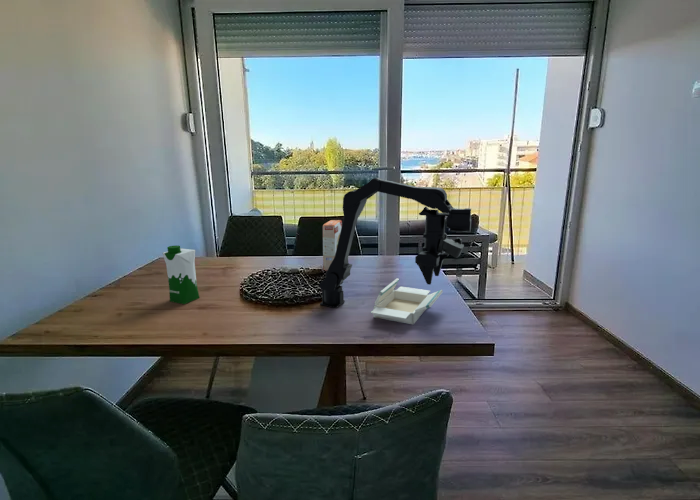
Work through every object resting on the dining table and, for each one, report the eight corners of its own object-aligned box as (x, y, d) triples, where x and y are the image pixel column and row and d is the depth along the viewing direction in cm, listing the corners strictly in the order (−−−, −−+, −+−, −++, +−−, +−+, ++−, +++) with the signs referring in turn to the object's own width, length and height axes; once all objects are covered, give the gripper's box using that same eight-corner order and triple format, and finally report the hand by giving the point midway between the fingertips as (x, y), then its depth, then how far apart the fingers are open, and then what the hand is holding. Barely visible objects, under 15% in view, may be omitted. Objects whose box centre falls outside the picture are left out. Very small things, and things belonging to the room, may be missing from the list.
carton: (367, 322, 120) (367, 311, 119) (397, 295, 143) (397, 286, 142) (408, 330, 114) (408, 318, 113) (432, 300, 137) (433, 291, 136)
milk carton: (165, 302, 139) (158, 247, 134) (186, 294, 147) (179, 241, 142) (184, 305, 135) (177, 249, 131) (203, 297, 143) (198, 243, 139)
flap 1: (374, 303, 124) (380, 291, 122) (391, 289, 137) (397, 277, 135) (376, 305, 124) (382, 292, 122) (393, 290, 137) (399, 279, 135)
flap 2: (414, 310, 118) (429, 304, 116) (428, 294, 131) (441, 289, 128) (415, 312, 118) (430, 307, 115) (429, 296, 131) (443, 291, 128)
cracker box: (336, 271, 172) (335, 224, 168) (322, 271, 174) (321, 224, 169) (343, 263, 186) (342, 219, 181) (330, 263, 187) (329, 219, 182)
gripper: (455, 238, 106) (452, 293, 110) (468, 227, 122) (465, 275, 126) (415, 235, 111) (414, 287, 115) (433, 224, 127) (431, 270, 131)
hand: (432, 280), depth 121 cm, fingers open, 9 cm apart
